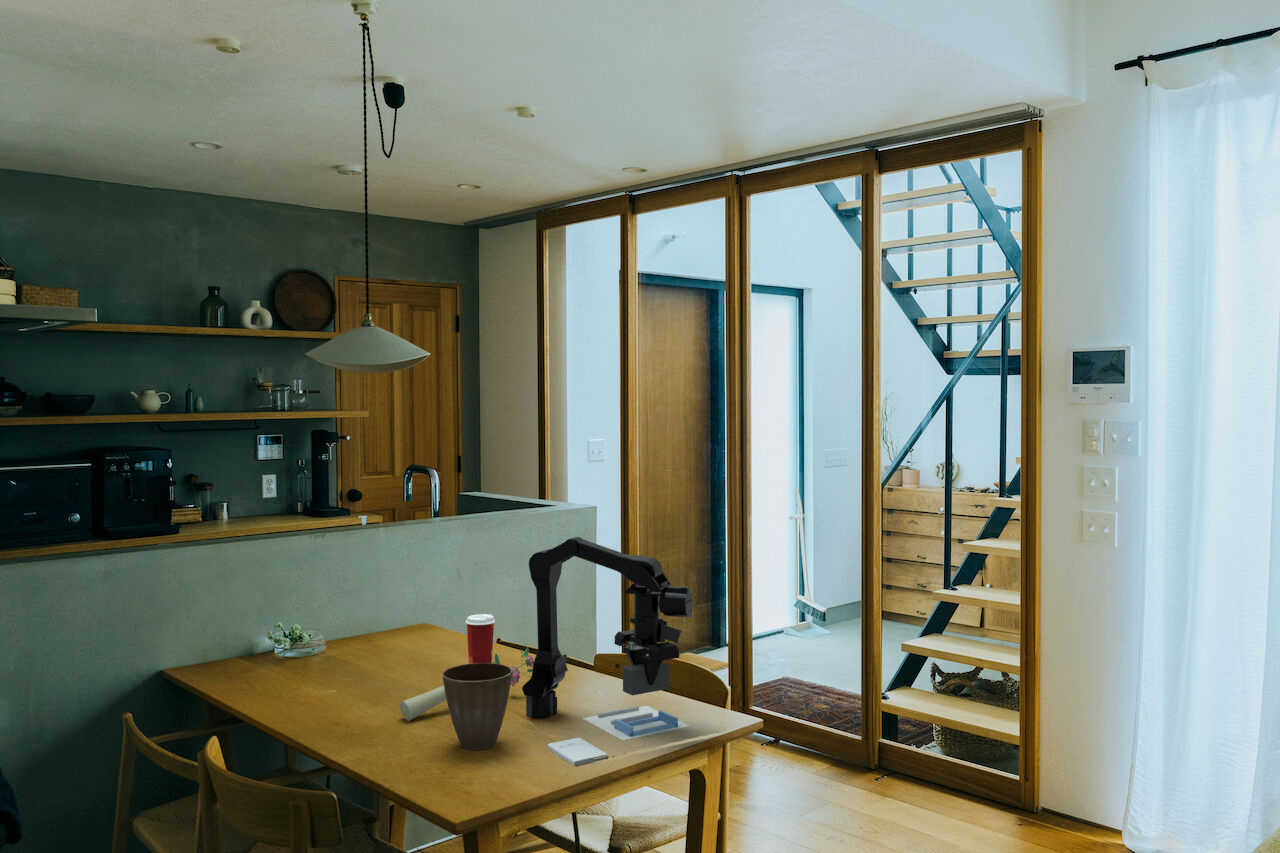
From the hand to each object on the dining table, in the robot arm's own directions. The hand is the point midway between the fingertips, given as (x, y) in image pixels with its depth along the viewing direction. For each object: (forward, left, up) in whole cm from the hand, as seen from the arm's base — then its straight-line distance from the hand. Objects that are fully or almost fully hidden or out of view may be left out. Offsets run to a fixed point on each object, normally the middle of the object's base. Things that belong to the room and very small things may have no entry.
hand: (646, 682), depth 222 cm
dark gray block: (0, 0, -2) cm, 2 cm away
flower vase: (-27, +38, -11) cm, 48 cm away
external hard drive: (-20, -4, -12) cm, 24 cm away
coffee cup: (-11, +68, -11) cm, 70 cm away
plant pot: (-36, +12, -11) cm, 40 cm away
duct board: (0, +4, -11) cm, 12 cm away
